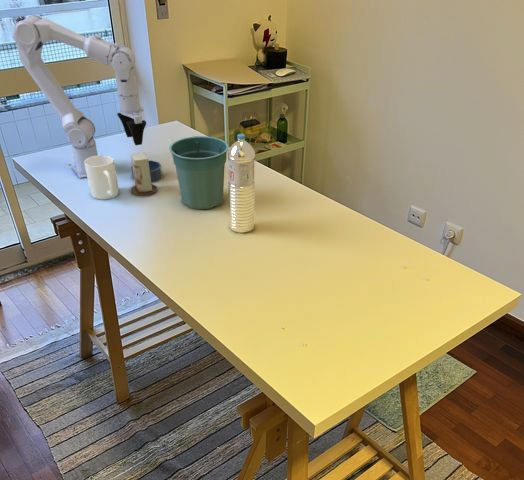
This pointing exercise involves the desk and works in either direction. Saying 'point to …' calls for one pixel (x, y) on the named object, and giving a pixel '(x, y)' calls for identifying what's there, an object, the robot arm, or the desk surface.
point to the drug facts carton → (141, 172)
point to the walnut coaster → (148, 193)
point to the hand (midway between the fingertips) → (134, 140)
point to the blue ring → (153, 170)
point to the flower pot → (200, 170)
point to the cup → (101, 177)
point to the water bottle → (241, 185)
